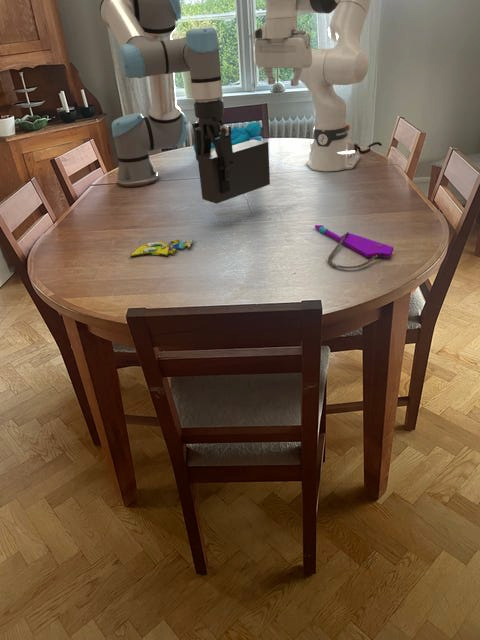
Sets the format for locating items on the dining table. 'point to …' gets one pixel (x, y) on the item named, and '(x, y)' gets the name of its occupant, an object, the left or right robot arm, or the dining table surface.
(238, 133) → the toy
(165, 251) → the toy
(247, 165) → the box
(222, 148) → the left robot arm
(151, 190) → the dining table surface
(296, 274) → the dining table surface
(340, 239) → the musical instrument
